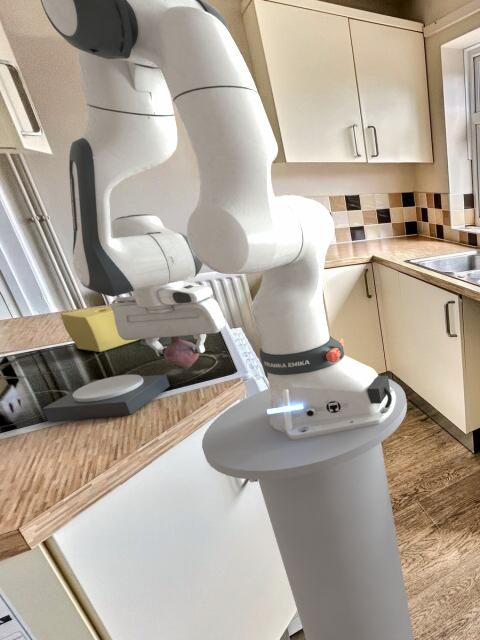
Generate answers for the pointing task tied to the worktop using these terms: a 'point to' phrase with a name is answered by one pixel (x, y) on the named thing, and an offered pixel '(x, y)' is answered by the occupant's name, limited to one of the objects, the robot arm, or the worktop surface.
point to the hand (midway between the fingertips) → (182, 354)
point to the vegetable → (180, 353)
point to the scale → (107, 397)
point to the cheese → (93, 329)
